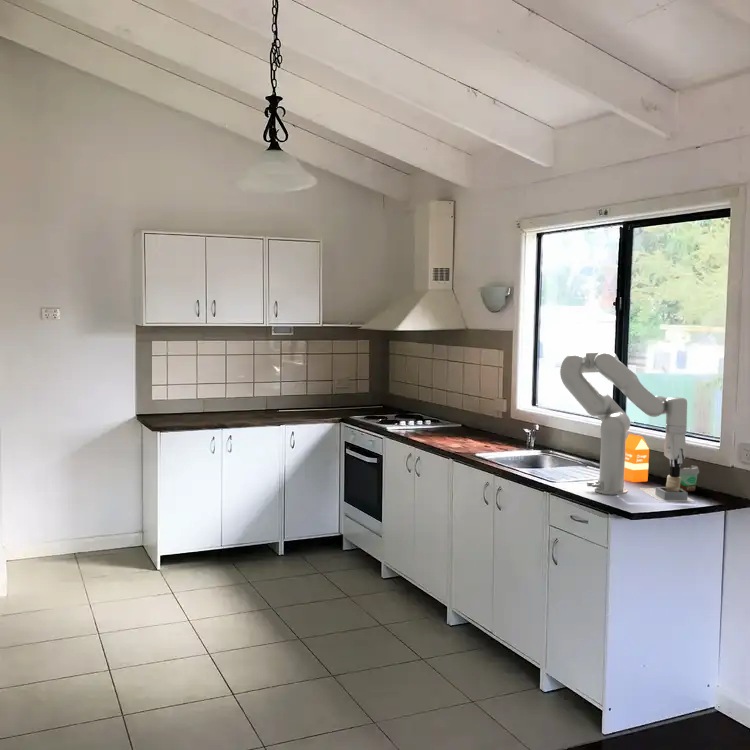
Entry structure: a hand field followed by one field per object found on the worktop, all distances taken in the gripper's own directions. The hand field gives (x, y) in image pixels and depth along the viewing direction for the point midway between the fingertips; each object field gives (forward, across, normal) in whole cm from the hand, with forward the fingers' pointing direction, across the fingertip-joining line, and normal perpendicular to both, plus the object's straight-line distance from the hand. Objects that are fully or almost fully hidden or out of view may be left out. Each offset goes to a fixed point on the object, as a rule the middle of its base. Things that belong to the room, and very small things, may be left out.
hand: (674, 476), depth 320 cm
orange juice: (+9, -34, -4) cm, 35 cm away
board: (+9, -6, -1) cm, 11 cm away
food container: (+9, -15, +12) cm, 21 cm away
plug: (+8, 0, -1) cm, 8 cm away
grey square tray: (+9, -1, -1) cm, 9 cm away
